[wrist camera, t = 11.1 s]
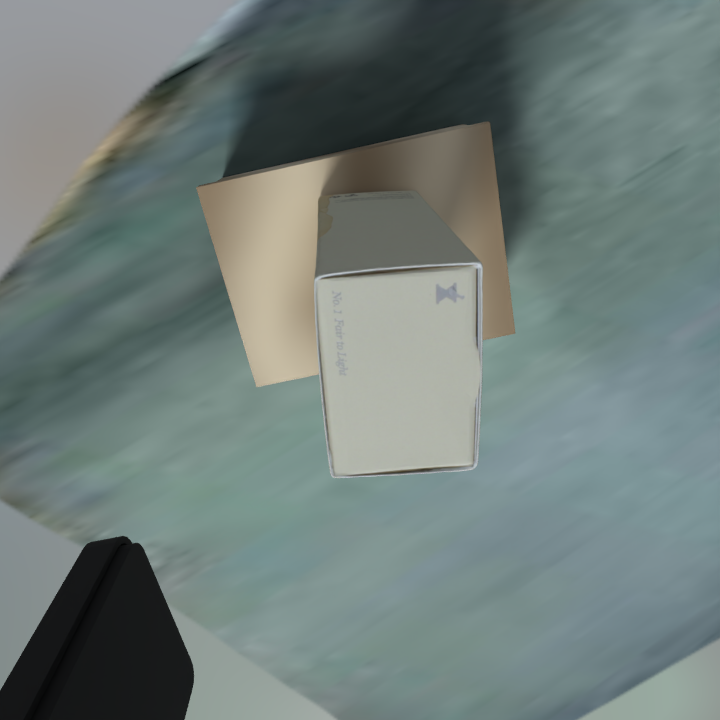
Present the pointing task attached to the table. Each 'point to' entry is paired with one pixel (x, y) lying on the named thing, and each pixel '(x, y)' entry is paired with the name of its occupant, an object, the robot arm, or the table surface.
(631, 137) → the table surface
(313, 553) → the table surface
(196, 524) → the table surface
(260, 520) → the table surface
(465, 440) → the skincare box
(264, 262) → the birch trinket box
